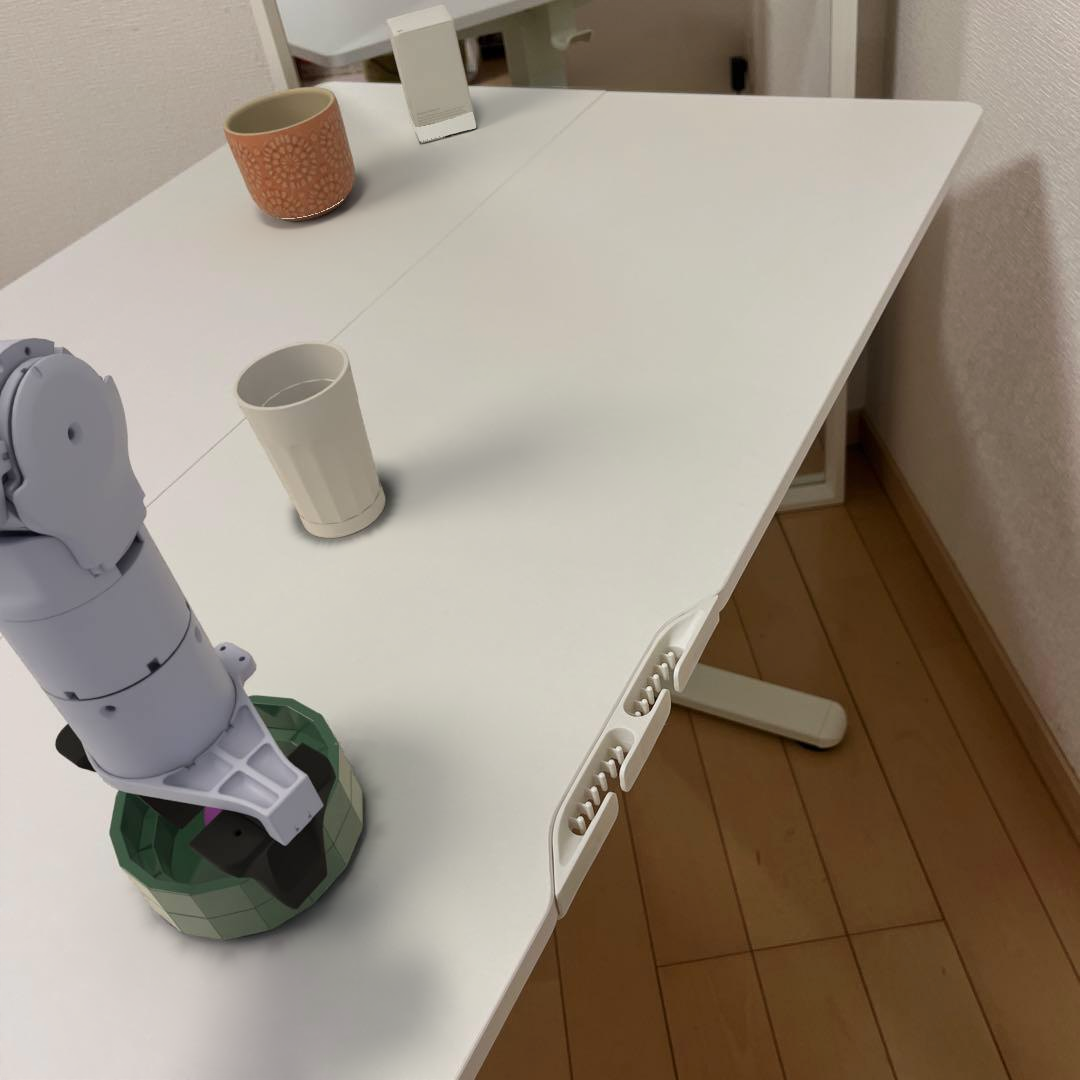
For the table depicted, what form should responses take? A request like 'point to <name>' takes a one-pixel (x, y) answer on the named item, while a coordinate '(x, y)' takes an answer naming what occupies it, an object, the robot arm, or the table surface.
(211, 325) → the table surface
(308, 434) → the cup
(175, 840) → the bowl
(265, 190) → the planter
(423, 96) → the white packaging box
